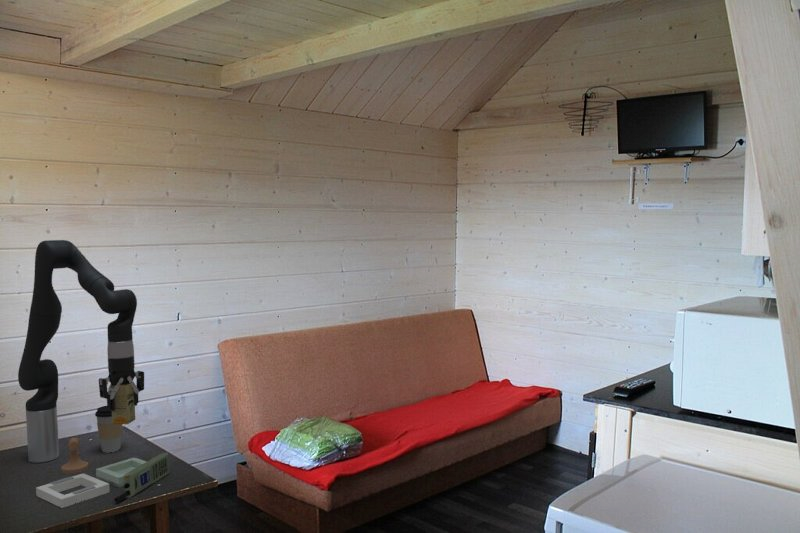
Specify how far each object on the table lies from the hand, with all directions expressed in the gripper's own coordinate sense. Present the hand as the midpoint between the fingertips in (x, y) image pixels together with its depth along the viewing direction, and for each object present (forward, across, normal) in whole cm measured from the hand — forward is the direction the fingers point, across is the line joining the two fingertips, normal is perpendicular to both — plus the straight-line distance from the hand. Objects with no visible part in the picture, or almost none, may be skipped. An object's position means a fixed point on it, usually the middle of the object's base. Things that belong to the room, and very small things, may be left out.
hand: (123, 408), depth 213 cm
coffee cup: (+22, -11, -28) cm, 38 cm away
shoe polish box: (+5, 0, 0) cm, 5 cm away
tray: (+22, 0, 0) cm, 22 cm away
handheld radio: (+22, +2, +12) cm, 25 cm away
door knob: (+22, +6, -20) cm, 30 cm away
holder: (+22, +17, 0) cm, 27 cm away
